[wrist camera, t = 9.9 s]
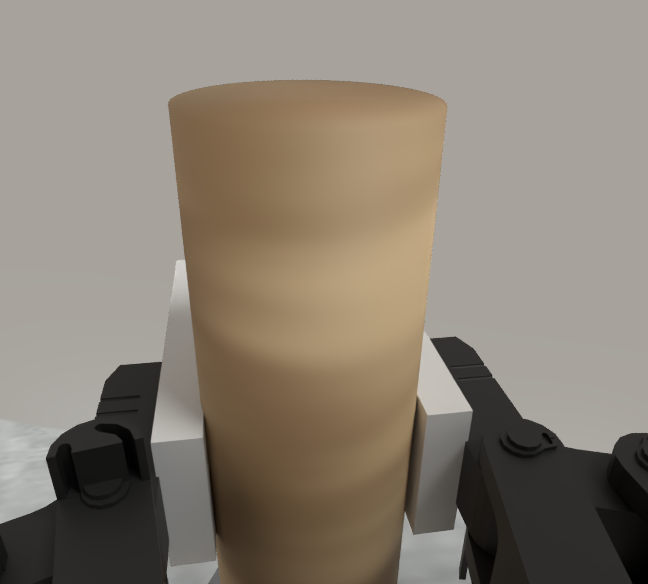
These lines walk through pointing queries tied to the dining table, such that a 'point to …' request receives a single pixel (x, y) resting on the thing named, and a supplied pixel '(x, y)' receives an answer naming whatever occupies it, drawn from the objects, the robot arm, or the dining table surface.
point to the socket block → (215, 578)
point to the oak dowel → (308, 315)
